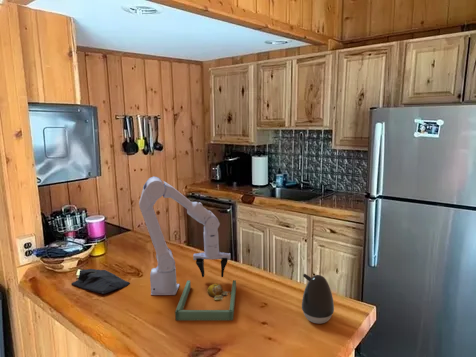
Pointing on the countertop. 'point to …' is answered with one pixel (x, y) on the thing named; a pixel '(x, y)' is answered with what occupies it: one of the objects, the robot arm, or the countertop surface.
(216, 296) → the fruit
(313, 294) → the pump dispenser
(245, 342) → the countertop surface
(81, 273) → the black fabric pouch
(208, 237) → the robot arm
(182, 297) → the green u-shaped bracket
